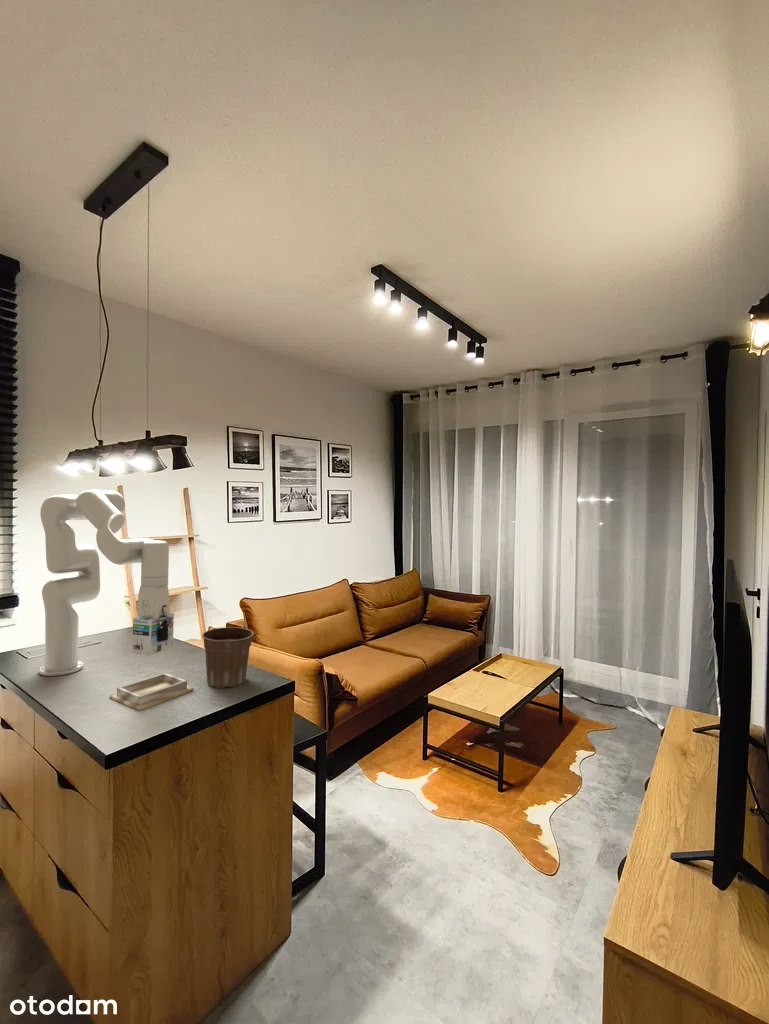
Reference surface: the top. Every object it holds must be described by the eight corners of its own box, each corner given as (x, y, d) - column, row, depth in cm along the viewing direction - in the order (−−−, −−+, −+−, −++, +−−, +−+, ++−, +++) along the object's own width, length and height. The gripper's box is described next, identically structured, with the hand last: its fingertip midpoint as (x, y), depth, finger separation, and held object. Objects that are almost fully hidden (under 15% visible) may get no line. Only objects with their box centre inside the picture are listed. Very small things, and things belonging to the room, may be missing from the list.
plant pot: (261, 676, 166) (263, 629, 166) (234, 694, 151) (235, 642, 150) (220, 670, 171) (221, 624, 170) (190, 687, 155) (191, 637, 155)
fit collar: (109, 697, 145) (109, 687, 145) (164, 679, 161) (164, 670, 161) (138, 710, 137) (139, 700, 137) (193, 690, 153) (193, 680, 153)
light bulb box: (150, 656, 143) (151, 620, 142) (131, 654, 144) (131, 618, 144) (174, 645, 153) (174, 611, 153) (155, 643, 155) (156, 610, 154)
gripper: (126, 579, 150) (125, 635, 150) (160, 586, 140) (159, 646, 141) (149, 576, 156) (148, 630, 156) (183, 583, 147) (182, 640, 147)
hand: (153, 637), depth 149 cm, fingers closed on light bulb box, 8 cm apart
